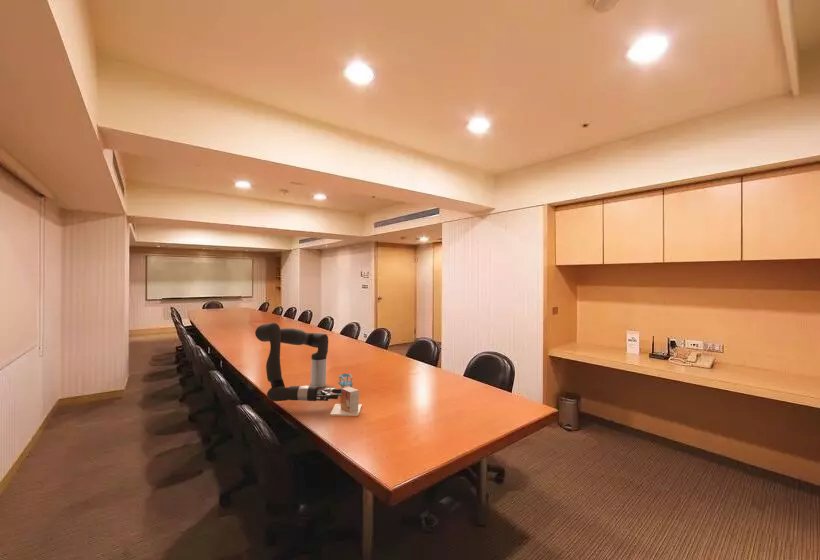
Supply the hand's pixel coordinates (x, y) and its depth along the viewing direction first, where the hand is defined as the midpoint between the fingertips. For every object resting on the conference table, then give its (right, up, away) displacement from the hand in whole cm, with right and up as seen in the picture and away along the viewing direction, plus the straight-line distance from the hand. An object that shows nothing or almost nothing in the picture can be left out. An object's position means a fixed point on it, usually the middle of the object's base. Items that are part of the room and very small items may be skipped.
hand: (339, 393), depth 175 cm
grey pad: (+4, -9, 0) cm, 9 cm away
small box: (+5, -8, -1) cm, 10 cm away
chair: (-2, -9, +24) cm, 25 cm away
